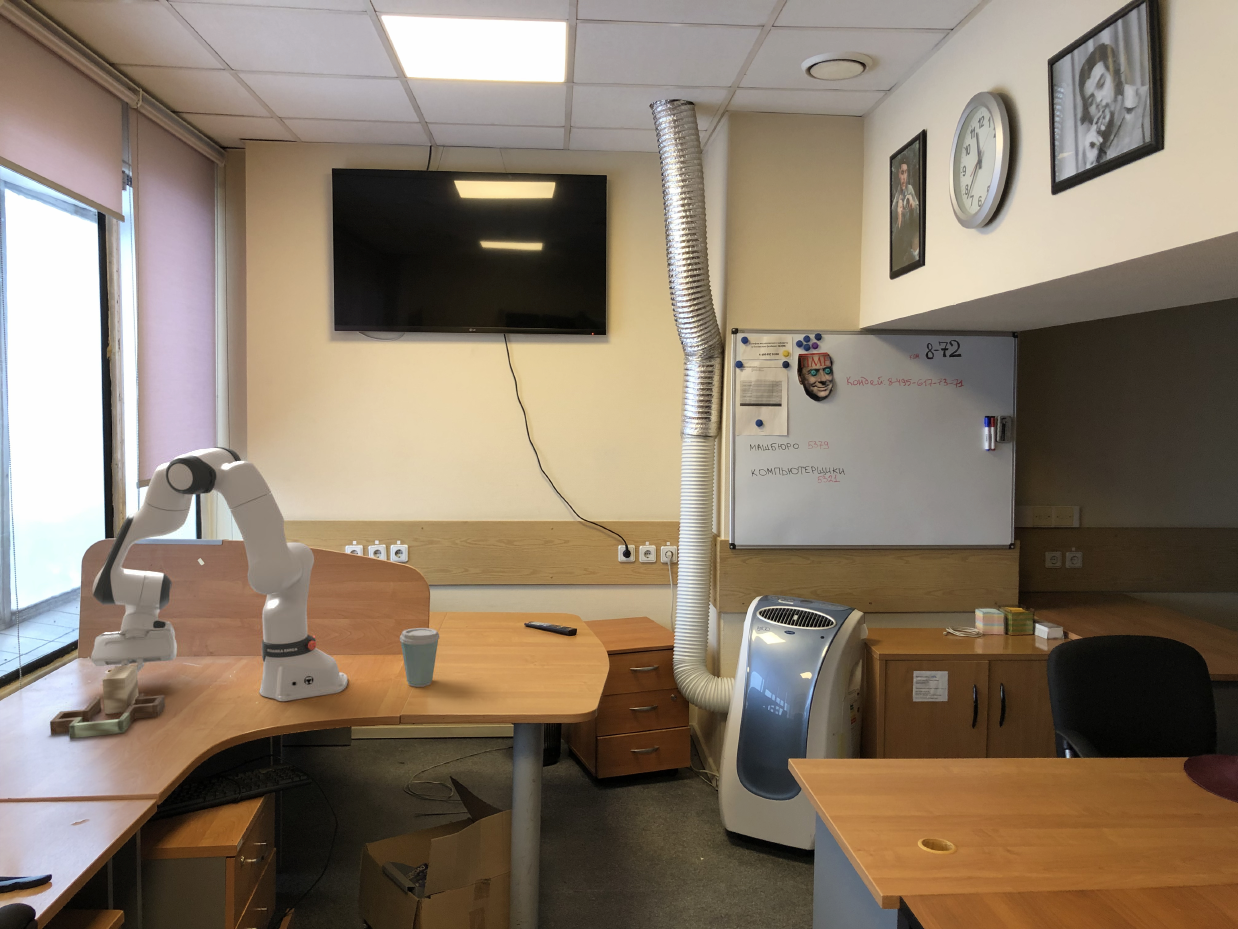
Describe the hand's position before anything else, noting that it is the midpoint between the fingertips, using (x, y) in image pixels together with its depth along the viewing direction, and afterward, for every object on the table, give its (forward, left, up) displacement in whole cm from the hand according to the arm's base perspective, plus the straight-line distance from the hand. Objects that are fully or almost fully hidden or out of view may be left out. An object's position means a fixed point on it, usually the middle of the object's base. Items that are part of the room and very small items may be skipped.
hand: (130, 677), depth 224 cm
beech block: (0, +8, -5) cm, 9 cm away
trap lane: (0, +18, -5) cm, 18 cm away
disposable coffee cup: (-75, +12, -5) cm, 76 cm away
